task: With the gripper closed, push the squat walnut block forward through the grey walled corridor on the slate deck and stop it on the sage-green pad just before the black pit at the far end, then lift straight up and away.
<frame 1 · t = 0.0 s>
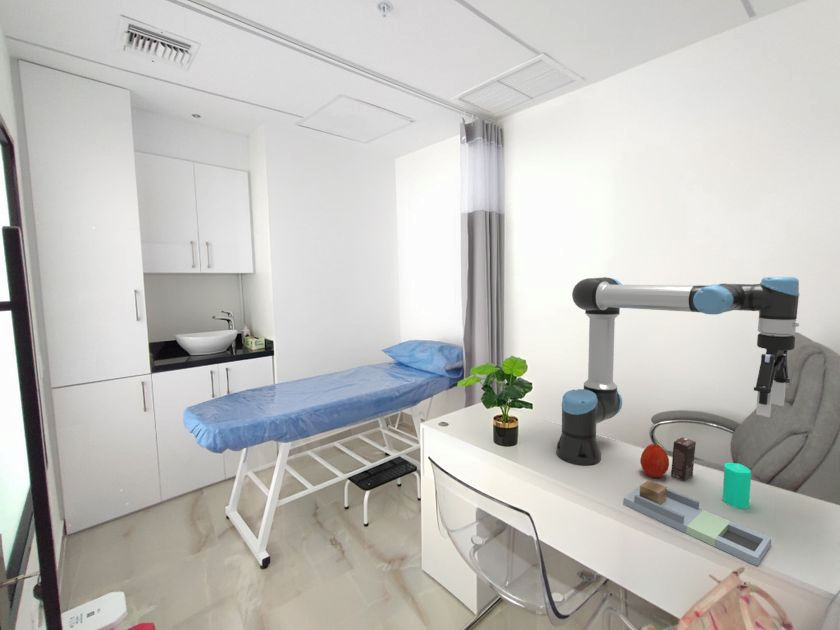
hand: (770, 410, 107), 28 cm above the table, fingers open, 13 cm apart
candle: (735, 503, 111), on the table
deck: (690, 523, 103), on the table
apple: (654, 475, 127), on the table
block: (652, 499, 110), point 2 cm above the table, touching deck
box: (682, 477, 126), on the table
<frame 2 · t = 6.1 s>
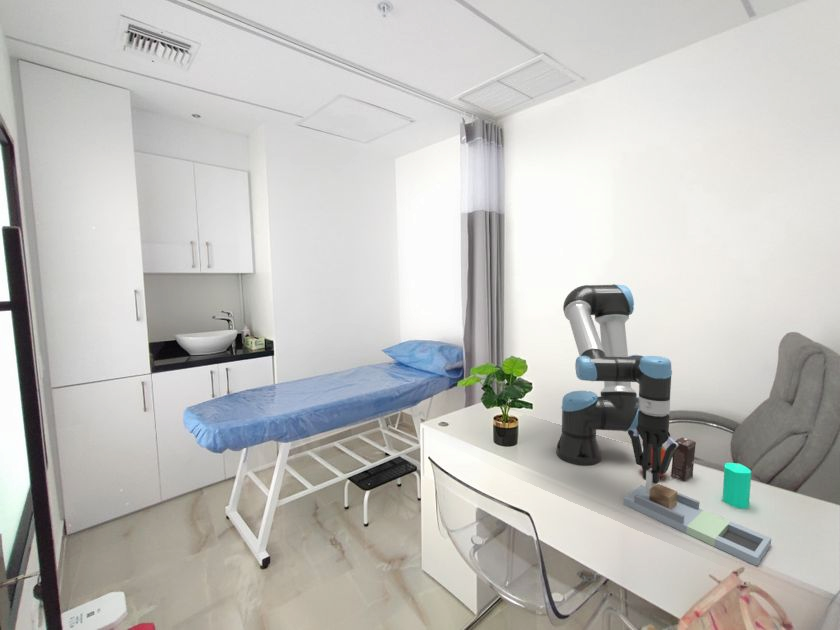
hand: (650, 492, 110), 4 cm above the table, fingers closed
block: (662, 503, 108), point 2 cm above the table, touching gripper
everything else where it was.
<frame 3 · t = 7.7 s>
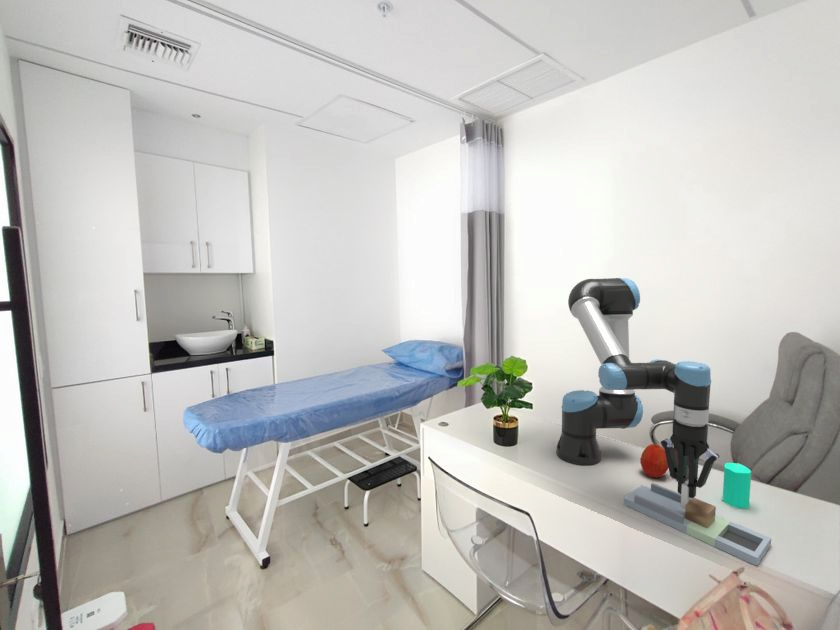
hand: (685, 506, 103), 4 cm above the table, fingers closed
block: (699, 519, 101), point 2 cm above the table, touching deck, gripper
everything else where it was.
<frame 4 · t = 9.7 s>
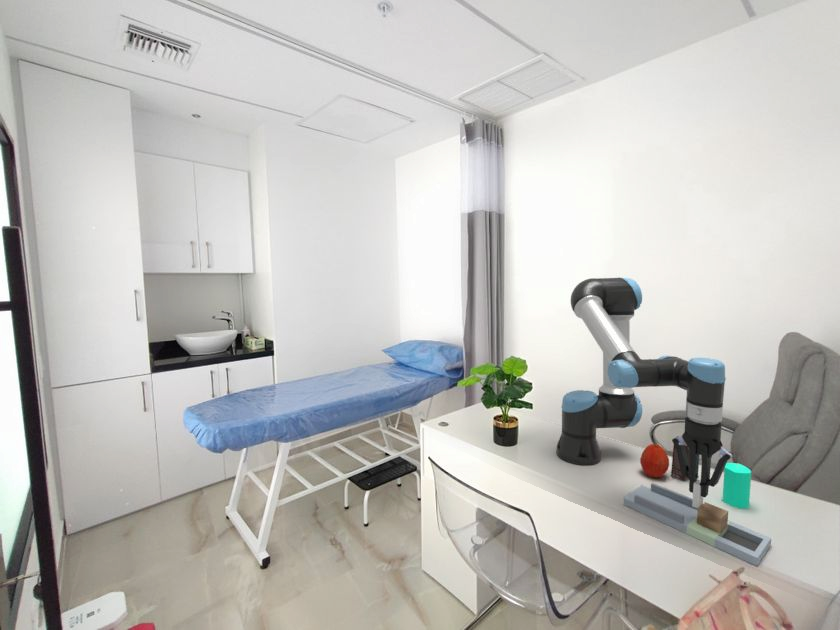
hand: (697, 505, 101), 6 cm above the table, fingers closed
block: (711, 524, 99), point 2 cm above the table, touching deck
everything else where it was.
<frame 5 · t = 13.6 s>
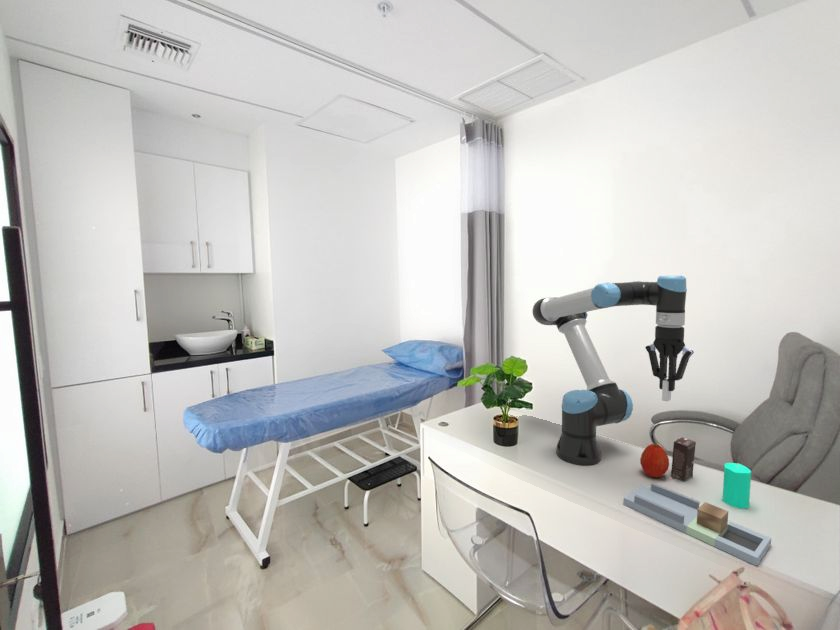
hand: (666, 400, 121), 26 cm above the table, fingers closed
nothing on the table moved.
at the end: block 0.9 cm from the target spot on the deck, point 2.0 cm above the deck's base; block tilted 0° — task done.
